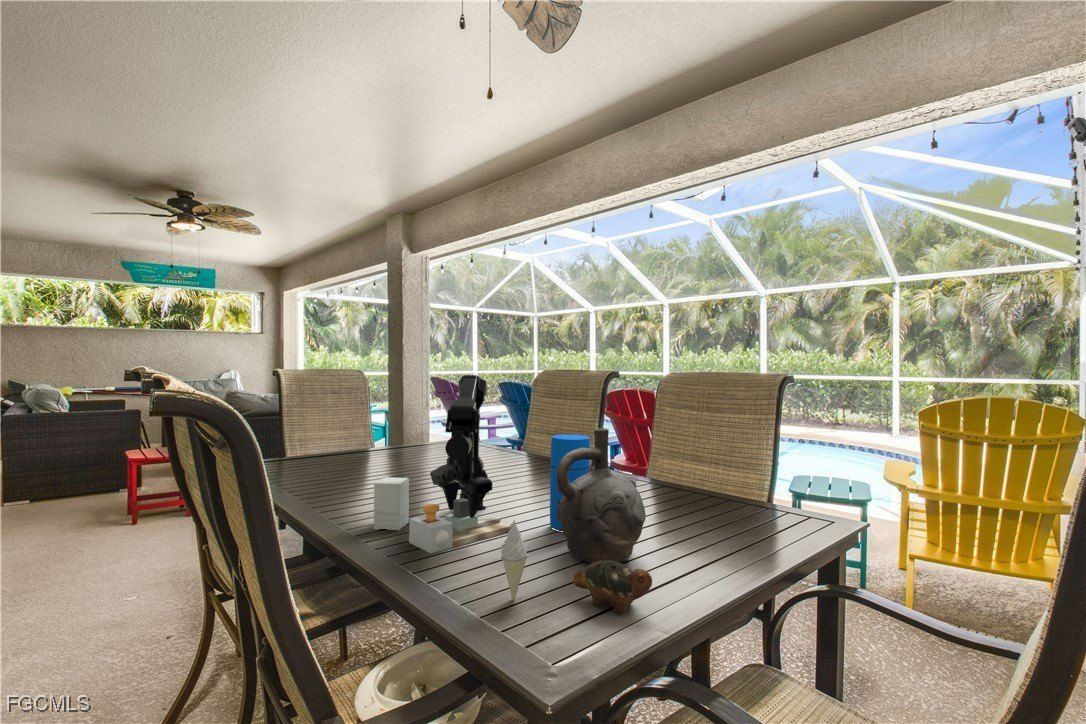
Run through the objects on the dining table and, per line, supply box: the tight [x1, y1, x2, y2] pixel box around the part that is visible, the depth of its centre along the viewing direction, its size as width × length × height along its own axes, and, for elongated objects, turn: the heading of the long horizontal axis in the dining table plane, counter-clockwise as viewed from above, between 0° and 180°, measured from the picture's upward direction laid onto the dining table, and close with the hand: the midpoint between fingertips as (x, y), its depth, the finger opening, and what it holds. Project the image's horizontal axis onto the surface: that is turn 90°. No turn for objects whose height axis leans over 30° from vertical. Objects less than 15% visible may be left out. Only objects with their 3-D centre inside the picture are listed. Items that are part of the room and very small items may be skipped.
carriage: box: [444, 498, 479, 531], centre depth 132 cm, size 6×6×6 cm
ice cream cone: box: [500, 520, 528, 601], centre depth 97 cm, size 5×5×15 cm
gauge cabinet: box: [408, 514, 453, 554], centre depth 126 cm, size 6×10×6 cm, turn 44°
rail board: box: [452, 516, 512, 548], centre depth 135 cm, size 19×10×3 cm, turn 134°
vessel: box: [557, 427, 647, 564], centre depth 119 cm, size 24×22×30 cm
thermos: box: [549, 434, 591, 531], centre depth 142 cm, size 11×11×25 cm
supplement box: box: [373, 476, 410, 531], centre depth 140 cm, size 7×7×13 cm
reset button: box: [422, 503, 440, 524], centre depth 126 cm, size 4×4×4 cm
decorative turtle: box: [572, 560, 653, 615], centre depth 95 cm, size 10×15×8 cm, turn 67°
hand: (461, 513), depth 132 cm, fingers open, 9 cm apart
